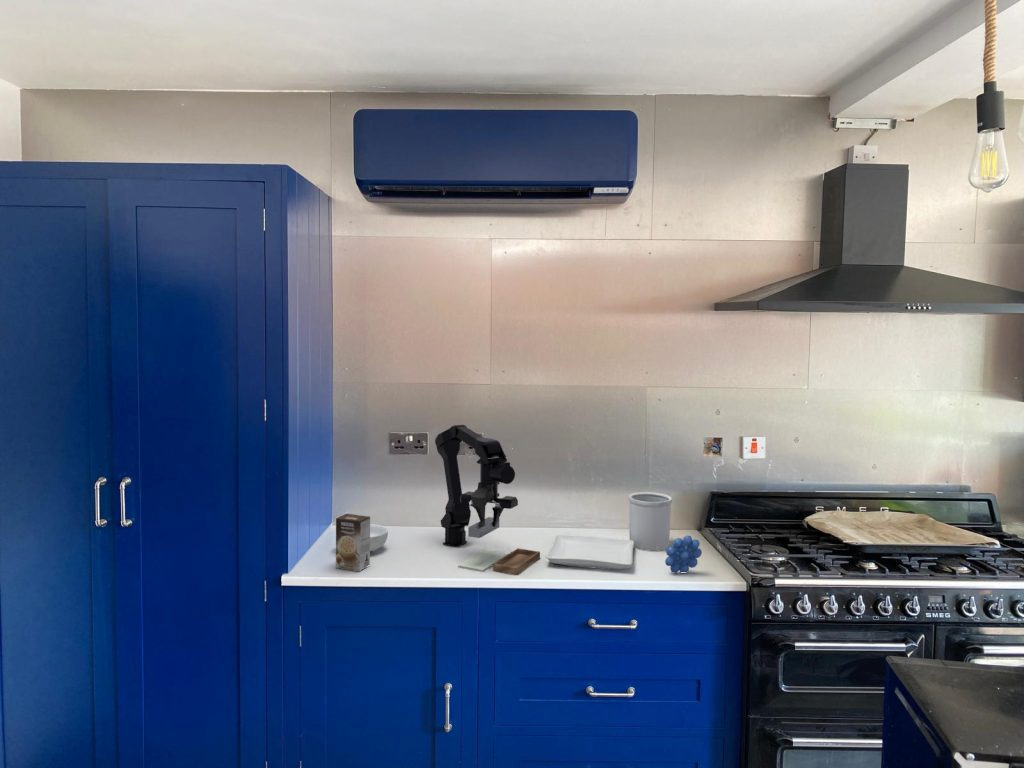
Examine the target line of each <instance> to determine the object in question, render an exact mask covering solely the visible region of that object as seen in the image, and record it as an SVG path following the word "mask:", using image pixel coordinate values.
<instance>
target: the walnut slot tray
mask: <svg viewBox="0 0 1024 768" xmlns="http://www.w3.org/2000/svg"><path fill="white" fill-rule="evenodd" d="M539 559H541V551H538V550H537V551H536V550H533V549H532V550H530V549H525V548H515V549H514V550H513V551H511V552H509V553H508V555H506V556H505V557H503V558H502V559H500V560H499V561H497V562H496V563H494V564H493V566H492V572H495V573H501V574H502V573H503V574H508V575H512V576H513V575H514V576H518V575H519V574H521V573H522V572H524V571H525V570H526V569H528V568H529V567H530V566H532V565H533V564H534V563H536V562H537V561H538V560H539Z"/></svg>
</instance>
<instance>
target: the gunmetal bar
mask: <svg viewBox="0 0 1024 768" xmlns="http://www.w3.org/2000/svg"><path fill="white" fill-rule="evenodd" d="M499 528H500V519H499V520H498V522H497V524H496V526H495V527H493V516H492V517H491V516H488V517H485V519H484V520H482V521H480V520H479V521H478V522H476V523H474V524H472V525H470V526H467V529H468V530H467V532H468V533H467V534H468V535H467V536H468V537H469V538H476V539H481V538H483V537H484V536H486V535H488V534H489V533H492V532H493V531H496V530H498V529H499Z"/></svg>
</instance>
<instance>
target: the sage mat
mask: <svg viewBox="0 0 1024 768" xmlns="http://www.w3.org/2000/svg"><path fill="white" fill-rule="evenodd" d="M508 554H509V553H506V552H501V551H500V552H499V551H493V550H488V549H483V550H482V551H480V552H478V553H477V554H475V555H474V556H471V557H470V558H468V559H467V560H464V561H463V562H462V563H460V564H458V566H457V567H458V568H459V567H460V568H461V569H465V568H466V570H472V571H476V572H486V571H487V570H489V569H490V568H491V567H493V564H494V563H496V562H497V561H499V560H500V559H502V558H503V557H505V556H506V555H508Z"/></svg>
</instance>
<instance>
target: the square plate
mask: <svg viewBox="0 0 1024 768" xmlns="http://www.w3.org/2000/svg"><path fill="white" fill-rule="evenodd" d="M633 546H634V541H632V540H630V539H619V538H611V537H602V536H592V535H591V536H589V535H588V536H587V535H570V534H569V535H568V534H565V535H564V534H557V535H555V538H554V540H553V542H552V545H551V547H550V548H549V550H548V552H547V554H546V555H545V558H546V559H547V560H548V561H549V562H551V563H553V564H556V565H562V566H566V565H567V567H575V566H582V567H581V568H588V567H595V568H594V569H601V568H609V569H608V570H627V569H628V568H630V567H631V566H632V565H633V552H634V551H633V550H634V547H633Z"/></svg>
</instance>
